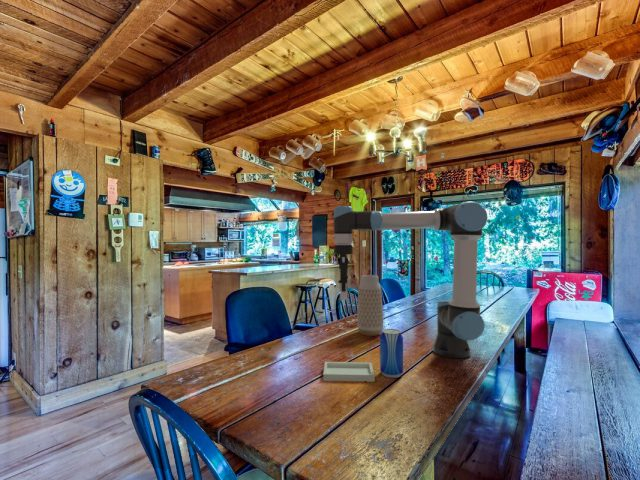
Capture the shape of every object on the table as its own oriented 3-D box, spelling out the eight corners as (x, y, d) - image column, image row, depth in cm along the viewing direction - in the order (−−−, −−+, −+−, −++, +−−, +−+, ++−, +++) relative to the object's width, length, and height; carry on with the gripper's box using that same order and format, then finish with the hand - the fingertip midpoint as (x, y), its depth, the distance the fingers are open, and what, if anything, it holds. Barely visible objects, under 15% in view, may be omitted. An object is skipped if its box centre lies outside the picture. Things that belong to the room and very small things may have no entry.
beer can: (403, 379, 119) (403, 334, 119) (379, 377, 121) (379, 333, 121) (402, 370, 127) (402, 328, 127) (380, 369, 129) (380, 327, 129)
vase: (387, 332, 180) (386, 275, 180) (377, 338, 169) (376, 277, 169) (363, 328, 188) (363, 274, 188) (352, 334, 176) (352, 276, 176)
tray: (371, 368, 129) (371, 362, 129) (374, 381, 117) (374, 375, 117) (324, 367, 130) (324, 361, 130) (323, 380, 118) (323, 374, 118)
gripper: (334, 244, 148) (335, 291, 148) (333, 245, 124) (333, 302, 124) (351, 244, 148) (352, 292, 148) (353, 244, 123) (353, 302, 123)
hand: (343, 296), depth 136 cm, fingers open, 13 cm apart
